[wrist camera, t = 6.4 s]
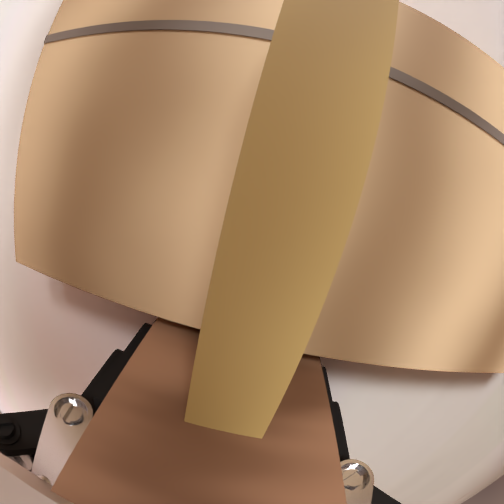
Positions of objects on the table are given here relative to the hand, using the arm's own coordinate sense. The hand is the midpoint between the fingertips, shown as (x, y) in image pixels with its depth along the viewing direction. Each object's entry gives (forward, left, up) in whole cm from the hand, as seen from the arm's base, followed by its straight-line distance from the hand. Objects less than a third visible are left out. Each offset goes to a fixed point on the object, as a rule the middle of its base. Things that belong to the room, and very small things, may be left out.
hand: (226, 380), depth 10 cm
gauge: (0, -4, -1) cm, 5 cm away
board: (-3, -8, -1) cm, 9 cm away
